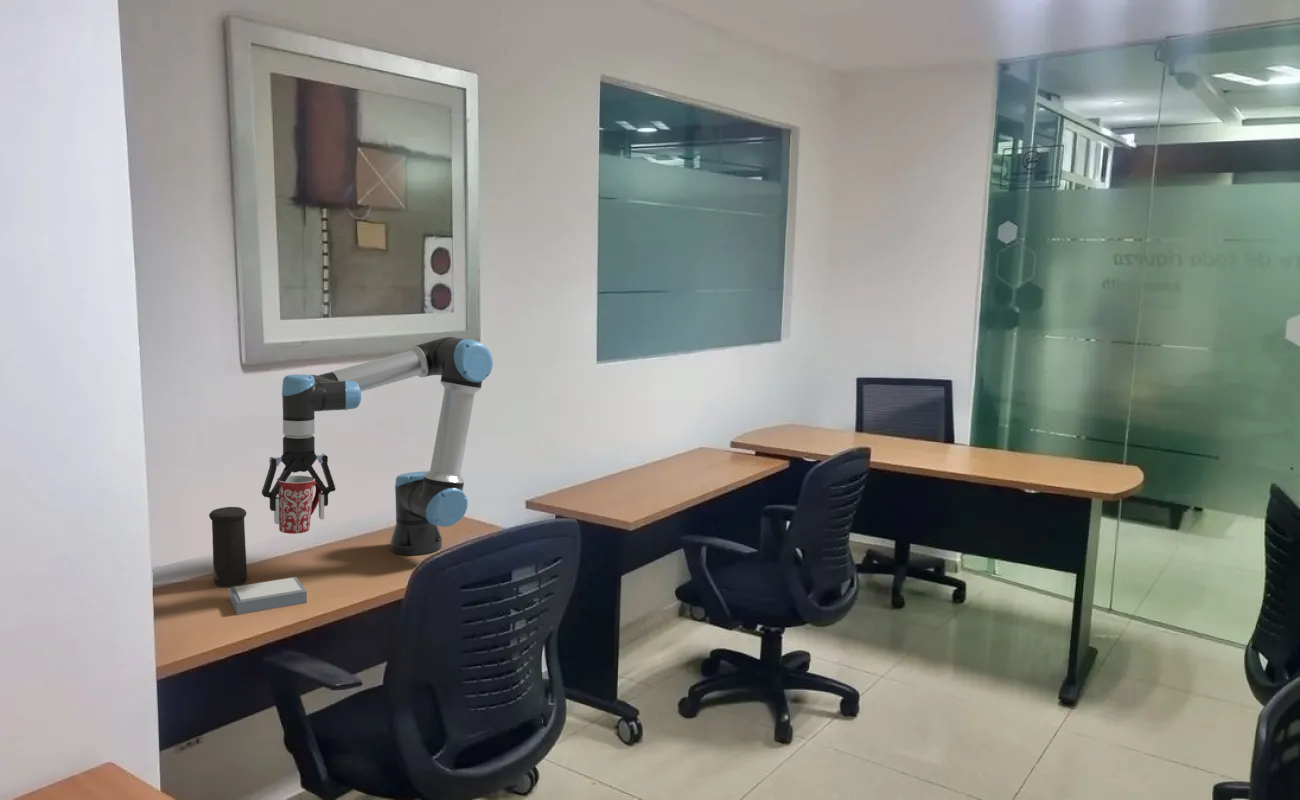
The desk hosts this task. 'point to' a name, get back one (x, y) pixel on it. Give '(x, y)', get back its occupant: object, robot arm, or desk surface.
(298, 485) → the mug
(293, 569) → the desk surface
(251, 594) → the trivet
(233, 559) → the container
